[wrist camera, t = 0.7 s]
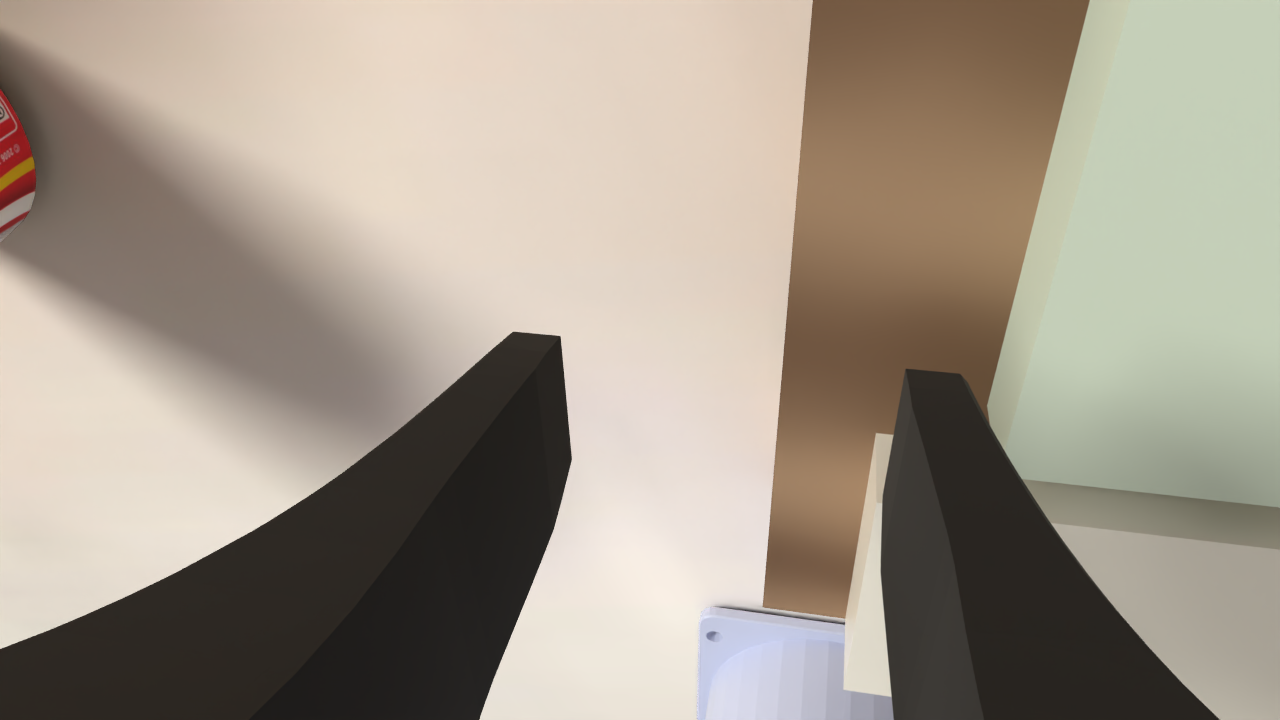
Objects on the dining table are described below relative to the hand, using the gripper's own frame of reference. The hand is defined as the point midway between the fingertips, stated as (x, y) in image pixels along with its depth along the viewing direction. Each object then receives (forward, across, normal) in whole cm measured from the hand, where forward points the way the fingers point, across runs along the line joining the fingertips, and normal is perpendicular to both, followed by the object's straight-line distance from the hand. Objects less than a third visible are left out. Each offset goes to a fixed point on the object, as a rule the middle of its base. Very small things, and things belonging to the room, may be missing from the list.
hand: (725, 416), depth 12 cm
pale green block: (+6, -8, 0) cm, 10 cm away
